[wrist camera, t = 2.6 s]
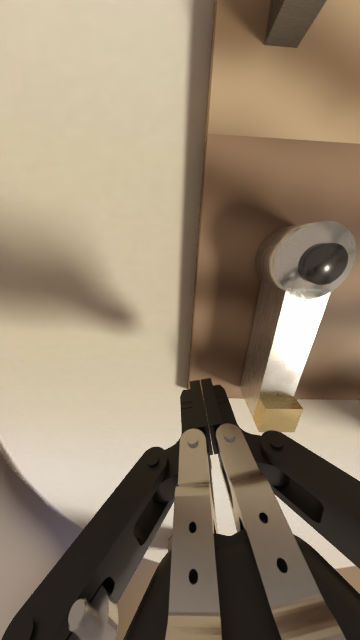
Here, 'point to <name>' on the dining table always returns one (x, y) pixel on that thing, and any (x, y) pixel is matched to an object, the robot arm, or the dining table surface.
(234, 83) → the door board
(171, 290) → the dining table surface
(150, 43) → the dining table surface
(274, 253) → the latch bar
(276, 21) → the block
